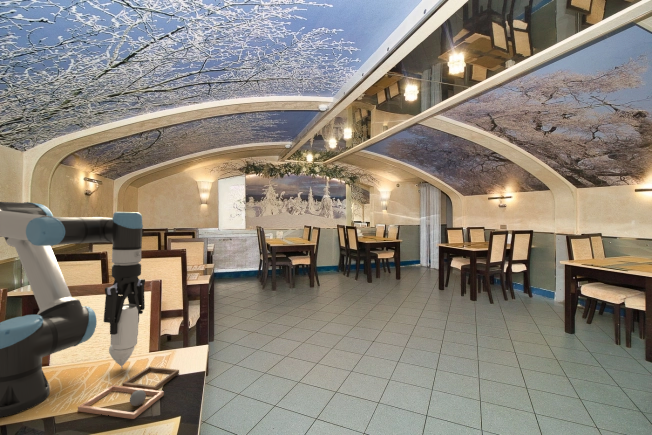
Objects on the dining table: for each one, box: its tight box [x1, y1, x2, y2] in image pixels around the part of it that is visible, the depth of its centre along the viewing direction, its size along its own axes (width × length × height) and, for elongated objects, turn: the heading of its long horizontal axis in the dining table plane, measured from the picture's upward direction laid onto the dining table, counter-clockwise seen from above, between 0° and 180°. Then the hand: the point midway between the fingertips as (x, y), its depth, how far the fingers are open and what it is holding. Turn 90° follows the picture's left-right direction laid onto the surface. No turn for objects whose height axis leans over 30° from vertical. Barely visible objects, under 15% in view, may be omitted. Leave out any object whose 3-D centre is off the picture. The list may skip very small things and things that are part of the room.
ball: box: [129, 390, 147, 407], centre depth 91 cm, size 4×4×4 cm
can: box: [112, 303, 139, 350], centre depth 96 cm, size 6×6×12 cm
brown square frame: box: [121, 366, 180, 391], centre depth 105 cm, size 12×12×1 cm
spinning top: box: [108, 344, 136, 369], centre depth 113 cm, size 8×8×12 cm
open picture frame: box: [77, 384, 165, 420], centre depth 92 cm, size 18×12×1 cm, turn 80°
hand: (124, 339), depth 96 cm, fingers closed on can, 6 cm apart
